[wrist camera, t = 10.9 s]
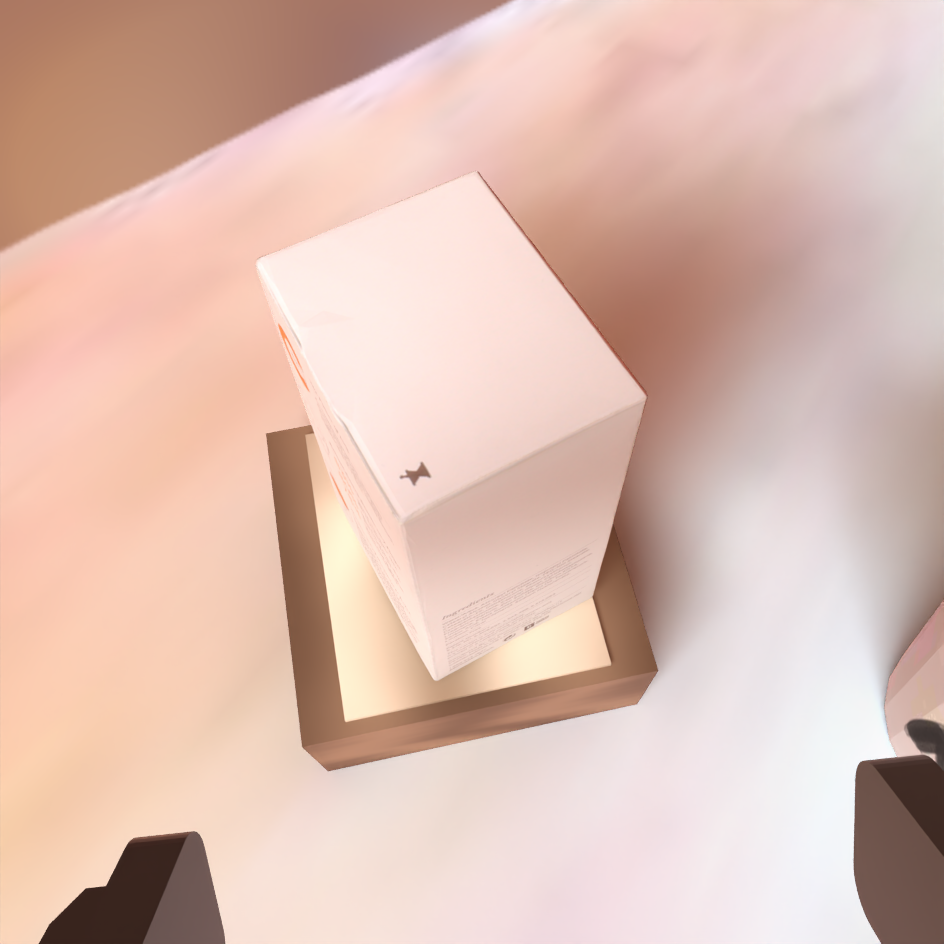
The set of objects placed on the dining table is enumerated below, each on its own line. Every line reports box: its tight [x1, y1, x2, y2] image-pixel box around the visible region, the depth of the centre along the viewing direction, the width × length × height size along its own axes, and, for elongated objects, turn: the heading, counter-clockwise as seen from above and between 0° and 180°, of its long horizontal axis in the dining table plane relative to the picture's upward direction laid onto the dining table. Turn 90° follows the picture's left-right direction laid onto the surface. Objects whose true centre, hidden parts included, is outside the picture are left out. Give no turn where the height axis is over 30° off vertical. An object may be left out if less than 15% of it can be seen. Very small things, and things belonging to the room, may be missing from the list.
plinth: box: [266, 425, 658, 771], centre depth 34 cm, size 12×12×5 cm
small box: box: [256, 171, 648, 681], centre depth 26 cm, size 8×6×13 cm
